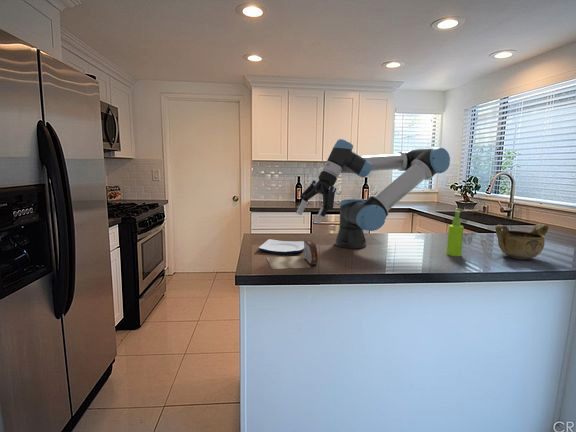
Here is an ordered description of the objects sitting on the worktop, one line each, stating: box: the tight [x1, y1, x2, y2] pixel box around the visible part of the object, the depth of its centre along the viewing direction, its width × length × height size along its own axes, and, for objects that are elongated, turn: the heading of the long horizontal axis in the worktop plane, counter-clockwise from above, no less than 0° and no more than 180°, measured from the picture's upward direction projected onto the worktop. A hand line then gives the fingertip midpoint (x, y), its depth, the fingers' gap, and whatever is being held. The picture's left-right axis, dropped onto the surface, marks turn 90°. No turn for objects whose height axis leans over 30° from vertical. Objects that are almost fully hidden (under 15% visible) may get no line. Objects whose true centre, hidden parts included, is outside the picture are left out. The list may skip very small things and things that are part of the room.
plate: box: [258, 238, 305, 255], centre depth 156 cm, size 20×20×3 cm
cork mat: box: [265, 255, 312, 271], centre depth 135 cm, size 15×16×1 cm
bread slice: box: [303, 239, 319, 266], centre depth 136 cm, size 15×3×8 cm, turn 9°
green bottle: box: [446, 209, 465, 257], centre depth 150 cm, size 6×7×20 cm
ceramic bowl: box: [494, 223, 549, 260], centre depth 146 cm, size 22×17×15 cm
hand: (307, 218), depth 143 cm, fingers open, 13 cm apart
